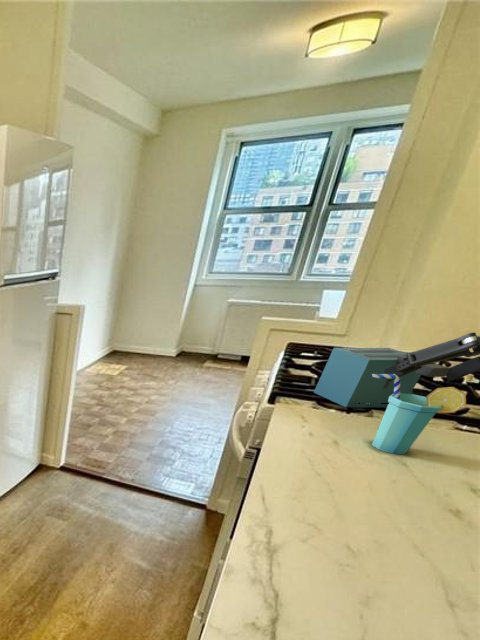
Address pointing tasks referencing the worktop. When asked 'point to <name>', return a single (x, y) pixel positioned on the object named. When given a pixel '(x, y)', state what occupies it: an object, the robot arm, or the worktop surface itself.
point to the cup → (412, 415)
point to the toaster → (362, 377)
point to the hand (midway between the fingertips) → (417, 375)
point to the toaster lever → (432, 370)
